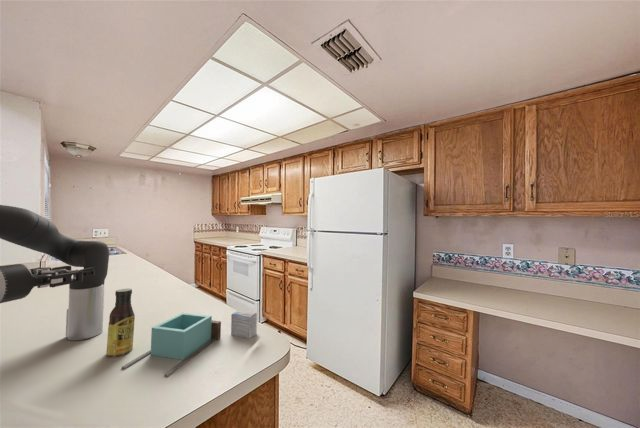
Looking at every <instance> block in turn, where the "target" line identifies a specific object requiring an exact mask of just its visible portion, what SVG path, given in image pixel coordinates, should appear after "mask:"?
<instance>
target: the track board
mask: <svg viewBox="0 0 640 428" xmlns="http://www.w3.org/2000/svg"><path fill="white" fill-rule="evenodd" d="M221 324H222V321H220V320H212V324H211V340H210V341H209V342H207V343H206V344H205V345H203V346H202V347H201V348H199V349H198V350H197V351H195V352H194V353H192V354H191V355H190V356H188V357H187V358H186V359H184V360H181V361H180V362H179V363H178V364H176V365H175V366H173V367H172V368H171V369H170V370H168V371H166V372H165V373H164V377H165V378H166V377H167V378H169V377H170V376H171V375H173V373H175V372H176V371H177V370H179V369H180V368H182V367H183V366H184V365H185V364H187V363H188V362H190V361H191V360H192V359H193V358H195V357H196V356H197V355H198V354H200V353H201V352H203V351H205V349H206V348H208V347H210V345H212V344H213V343H214V342H216V341H219V340H220V339H221V336H222V335H221V334H222V333H221V332H222V325H221ZM149 355H151V349H150V350H148V351H147V352H145V353H143V354H141V355H139V356H138V357H136V358H134V359H132V360H131V361H129V362H127V363H126V364H124V365H122V366H121V370H126V369H128V368H130V367H131V366H133V365H134V364H136V363H137V362H140V361H141V360H143V359H144V358H146V357H148V356H149Z"/></svg>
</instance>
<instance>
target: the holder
mask: <svg viewBox="0 0 640 428" xmlns="http://www.w3.org/2000/svg"><path fill="white" fill-rule="evenodd" d="M212 318H213V315H205V314H199V313H198V314H197V313H188V312H181V313H179V314H177V315H175V316H173V317H170V318H168V319H167V320H165V321H163V322H161V323H159V324H156V325H154V326H152V327H151V335H150V336H151V340H150V350H151V354H150V355H151V356H156V357H162V358H169V359H176V360H180V361H183V360H184V359H186V358H187V357H188V356H190V355H191V354H192V353H194V352H195V351H197V350H198V349H199V348H201V347H202V346H203V345H205V344H206V343H207V342H209V341H210V340H211V324H212Z"/></svg>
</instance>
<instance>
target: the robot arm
mask: <svg viewBox="0 0 640 428" xmlns="http://www.w3.org/2000/svg"><path fill="white" fill-rule="evenodd" d="M0 239H1V240H4V241H6V242H7V243H8V242H9V243H11V244H14V245H17V246H20V247H23V248H26V249H29V250H32V251H36V252H38V253H39V252H40V253H42V254H44V255H48V256H51V257H52V258H54V259H57V260H59V261H60V262H62V263H64V264H65V265H63V266H56V267H49V266H48V267H47V266H46V267H40V266H39V267H35V268H29V267H28V266H27V265H25V264H22V263H14V264H8V265H0V304H4V303H9V302H12V301H17V300H22V299H25V298H26V297H28V296H29V294H30V293H31V291H32V290H33V289H34V288H35V287H36V288H37V289H43V288H48V287H49V288H55V287H60V286H65V285H69V286H68V308H67V309H66V315H65V316H66V319H65V323H66V324H65V338H66V339H67V340H68V341H82V340H87V339H89V338H90V339H91V338H93V337H95V336H98V335H100V334H101V333H103V329H104V326H103V325H104V304H105V303H104V302H105V282H106V281H105V280H106V279H107V275H108V271H109V263H110V262H109V261H110V249H109V246H108V245H107V243H106V242H103V241H101V240H99V241H98V240H96V241H94V240H78V239H74V238H72V237H69V236H66V235H64V234H62V233H60V231H59V229H58V228H57V226H56V224H54V222H52V221H51V220H50V219H47V218H46V217H44V216H42V215H39V214H38V213H36V212H34V211H32V210H30V209H26V208H23V207H22V208H21V207H19V206H18V207H17V206H11V205H6V204H5V205H4V204H0ZM72 267H74V268H81V269H73V270H72Z"/></svg>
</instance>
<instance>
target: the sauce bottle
mask: <svg viewBox="0 0 640 428" xmlns="http://www.w3.org/2000/svg"><path fill="white" fill-rule="evenodd" d="M132 294H133V289H132V288H121V289H116V290H115V304H114V307H113V308H112V310H111V311H110V314H109V322H108V326H107V343H106V351H105V352H106V357H108V358H119V357H122V356H124V355H127V354H129V353H130V352H132V351H133V348H134V334H135V333H134V332H135V316H136V315H135V312H134V310H133V307H132V306H133V305H132Z"/></svg>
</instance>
